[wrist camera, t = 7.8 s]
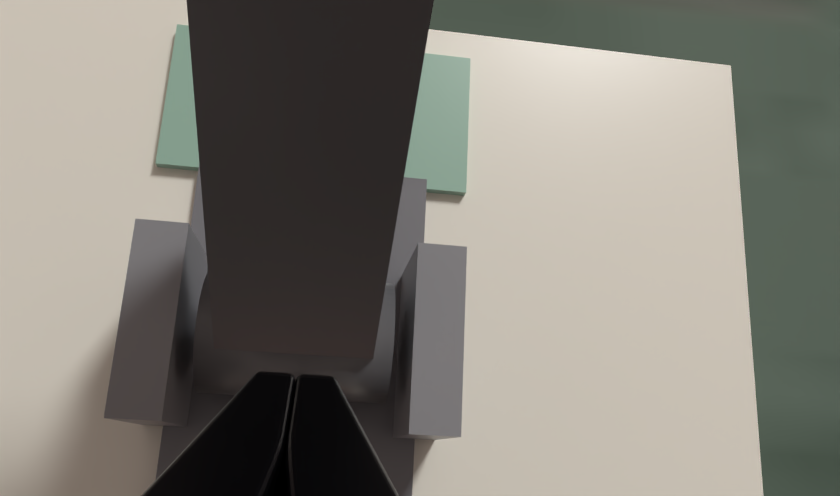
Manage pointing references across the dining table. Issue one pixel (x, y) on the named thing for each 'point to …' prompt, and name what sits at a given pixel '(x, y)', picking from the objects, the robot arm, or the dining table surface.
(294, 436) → the robot arm
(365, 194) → the breaker lever
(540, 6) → the dining table surface
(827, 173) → the dining table surface
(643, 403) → the breaker housing
